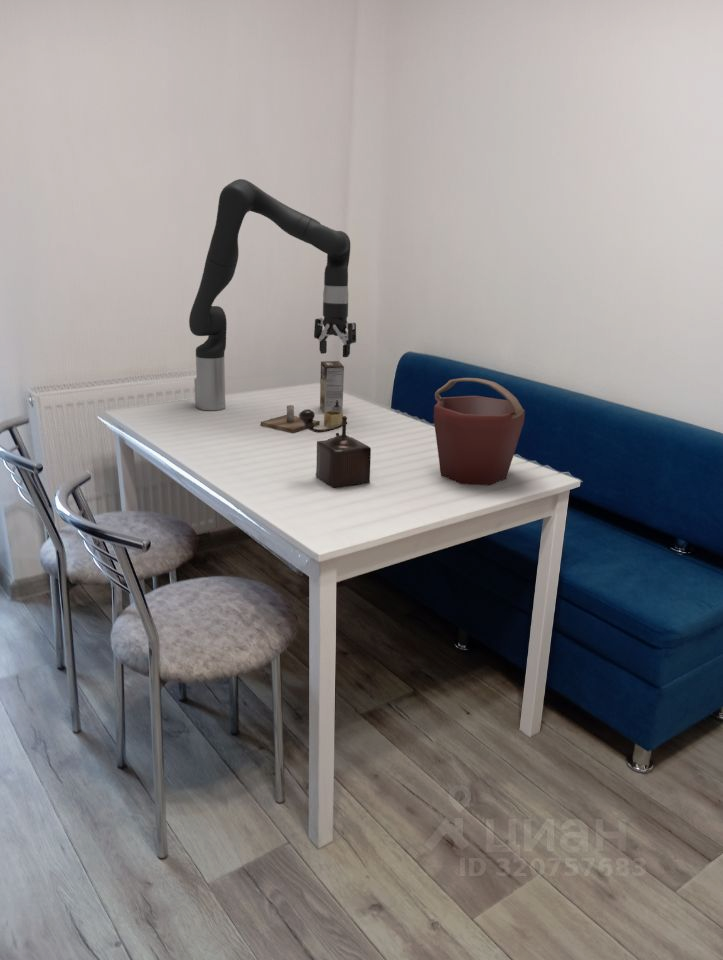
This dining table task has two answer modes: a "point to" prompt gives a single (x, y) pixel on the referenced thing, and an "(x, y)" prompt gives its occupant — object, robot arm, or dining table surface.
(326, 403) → the coffee box
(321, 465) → the manual coffee grinder
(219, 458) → the dining table surface
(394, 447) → the dining table surface
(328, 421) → the gold octagonal ring
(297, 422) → the post stand
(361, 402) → the dining table surface
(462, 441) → the bucket
